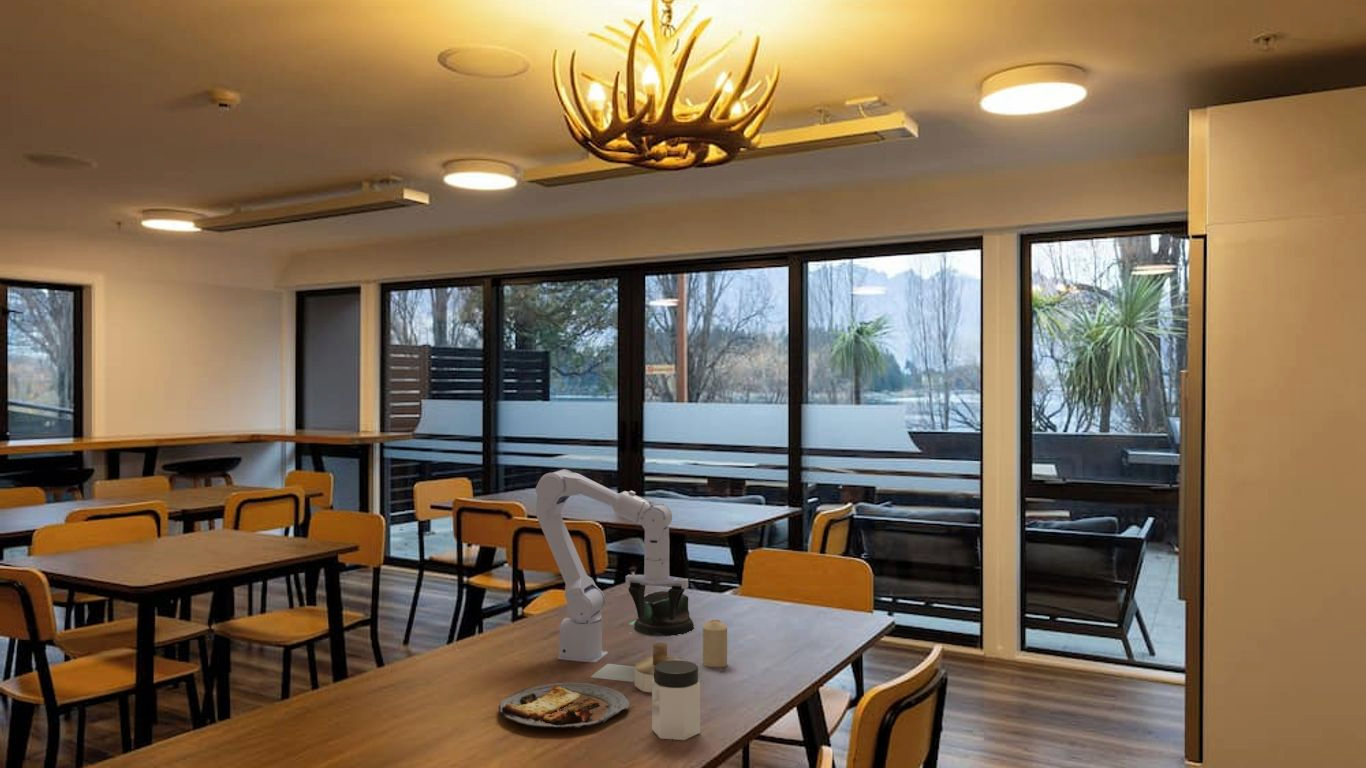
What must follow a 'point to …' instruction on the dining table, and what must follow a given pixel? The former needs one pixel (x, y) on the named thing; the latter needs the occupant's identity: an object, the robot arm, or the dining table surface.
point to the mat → (616, 673)
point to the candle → (715, 644)
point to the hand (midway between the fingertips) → (656, 617)
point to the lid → (653, 659)
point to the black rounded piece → (663, 616)
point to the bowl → (643, 681)
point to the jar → (676, 700)
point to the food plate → (561, 705)
